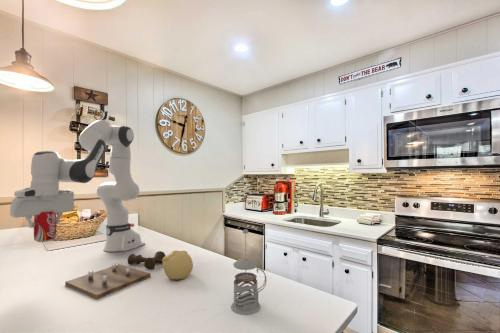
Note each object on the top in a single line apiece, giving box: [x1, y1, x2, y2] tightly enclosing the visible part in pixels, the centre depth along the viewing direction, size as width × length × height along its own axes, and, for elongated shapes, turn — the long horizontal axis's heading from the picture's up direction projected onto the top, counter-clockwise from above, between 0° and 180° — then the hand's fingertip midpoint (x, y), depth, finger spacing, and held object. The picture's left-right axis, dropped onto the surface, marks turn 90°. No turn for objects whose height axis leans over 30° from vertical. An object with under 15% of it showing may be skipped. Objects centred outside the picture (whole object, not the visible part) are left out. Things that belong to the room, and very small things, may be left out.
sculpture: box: [161, 250, 194, 280], centre depth 106 cm, size 12×12×11 cm
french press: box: [230, 228, 267, 316], centre depth 82 cm, size 10×12×25 cm
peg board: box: [64, 263, 151, 300], centre depth 102 cm, size 22×22×4 cm
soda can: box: [33, 210, 57, 243], centre depth 101 cm, size 7×7×12 cm
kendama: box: [127, 250, 166, 270], centre depth 120 cm, size 6×10×20 cm
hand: (44, 225), depth 100 cm, fingers closed on soda can, 7 cm apart
